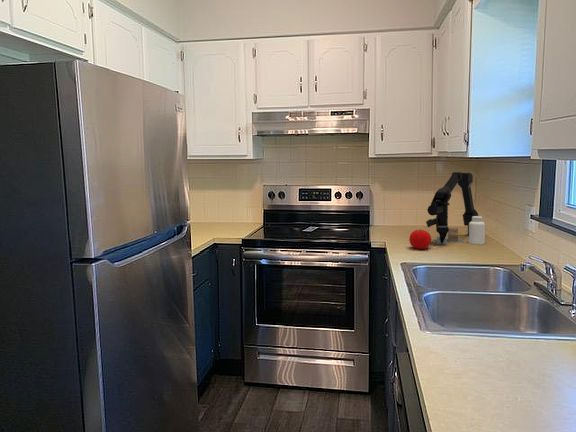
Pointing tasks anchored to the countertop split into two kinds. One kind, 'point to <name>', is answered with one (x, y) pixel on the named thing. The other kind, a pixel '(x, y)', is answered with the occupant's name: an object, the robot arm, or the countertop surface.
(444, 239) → the pale grey cube
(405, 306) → the countertop surface
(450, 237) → the tower base
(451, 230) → the tower top
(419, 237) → the tomato
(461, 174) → the robot arm
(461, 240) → the mat
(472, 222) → the pill bottle
